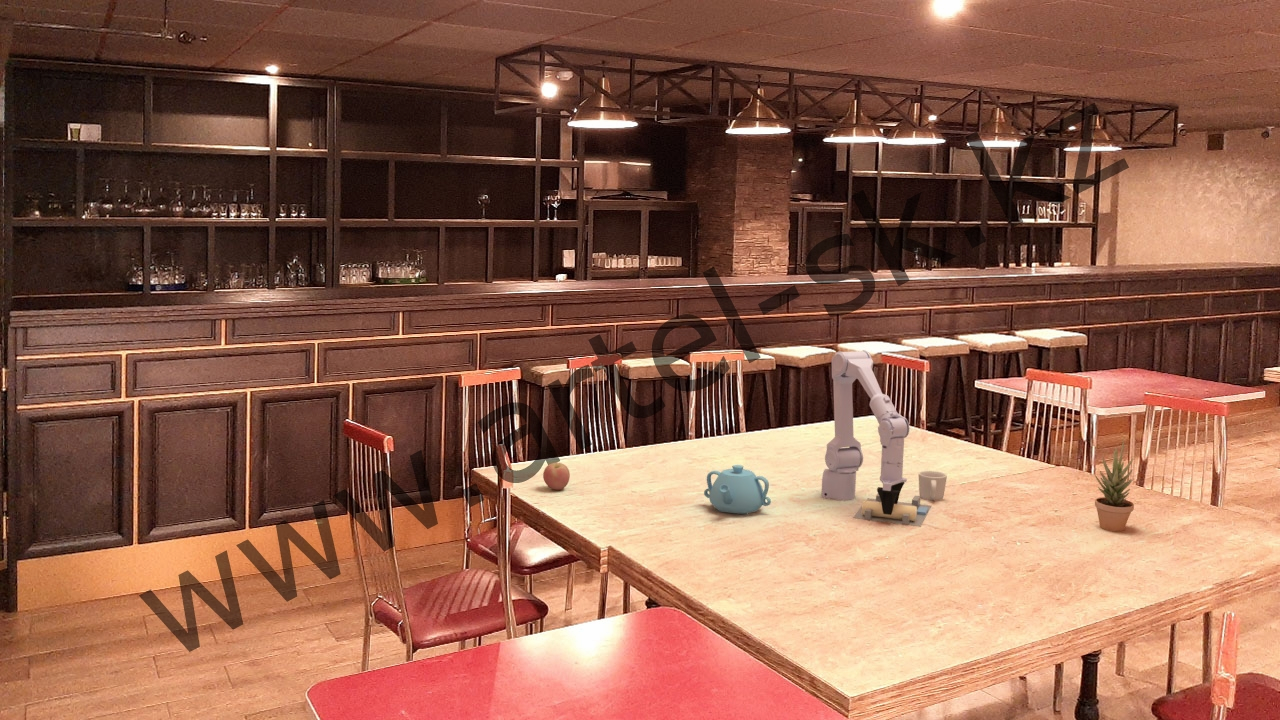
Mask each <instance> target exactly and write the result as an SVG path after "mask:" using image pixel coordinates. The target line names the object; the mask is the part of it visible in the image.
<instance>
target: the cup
mask: <svg viewBox="0 0 1280 720" xmlns="http://www.w3.org/2000/svg"><path fill="white" fill-rule="evenodd" d="M947 477H948V475H947V474H946V473H944V472H942V471H938V470H937V471H935V470H922V471H919V472H918V490H919V491H918V492H919V496H921V497H920V499H922V500H925V501H926V500H927V501H941V502H942V501H943V500H944V496H945V490H946V484H947Z"/></svg>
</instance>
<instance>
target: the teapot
mask: <svg viewBox="0 0 1280 720" xmlns="http://www.w3.org/2000/svg"><path fill="white" fill-rule="evenodd" d="M712 475H717V477H716V479H715V480H714V482H713V483H712ZM760 481H762V482H763V484H764V489H763V486H762V484H761V482H760ZM706 485H707V488H706V489H704V491H703V495H704V496H705V497H706V498H707V499H709V501H710V503H711V505H712V506H713V507H714V509H715V510H718V512H720V513H730V514H738V515H740V514H741V516H747V515H748V514H749V513H754V512H755V513H756V512H757V511H758V510H760V508H761V507H762V506H764V507H768V506H770V505H771V503H772V500H771V497H769V496H767V495H768V491H769V488H770V483H769V481H768V479H767V478H766V477H764V476H763V475H762V476H760V475H759V476H757V475H756V474H755V472H753V471H752V470H748V469H744V466H743V465H741V464H734V465H732V468H728V469H723V470H722V471H719V470H711V471H709V473H707V475H706ZM766 501H767V502H766Z"/></svg>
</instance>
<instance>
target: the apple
mask: <svg viewBox="0 0 1280 720" xmlns="http://www.w3.org/2000/svg"><path fill="white" fill-rule="evenodd" d="M570 476H571V474H570V470H569V468H568V466H567V465H566V464H564V463H562V462H552V463H550V464H548V465H546V467H545V468H544V470H543V473H542V478H543V481H544V483H545V484H546V486H547V487H548V488H550V489H552V490H555V491H561V490H563V489H565V488H566V487H567V485H568V484H569V482H570Z"/></svg>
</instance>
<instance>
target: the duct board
mask: <svg viewBox="0 0 1280 720" xmlns="http://www.w3.org/2000/svg"><path fill="white" fill-rule="evenodd" d="M920 497H921V496H920V495H914V496H913V497H912V499H911V502H903V501H902V502H901V501H898V503H897V504H900V505H908V506H916V507H917V516H916V521H910V514H906V513H904V514H903V518H902V520H900V519H892V518H884V517H876V516H872V509H866V510H865V515H862V505H861V506H860V507H859V509H858V510H857V512H856V513H854V515H853V516H852V519H857V520H865V521H871V522H881V523H888V524H895V525H903V526H904V525H905V526H913V527H918V528H920V527H922V525H923V523H924V522H925V520H926V517H927V515H928V513H929V512H930V510H931V508H932V505H928V504H921V498H920ZM866 501H875V502H881V499H880V496H879V494H878V493H877V494H876V495H875V498H870V497H869V498H867V499H866Z"/></svg>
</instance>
